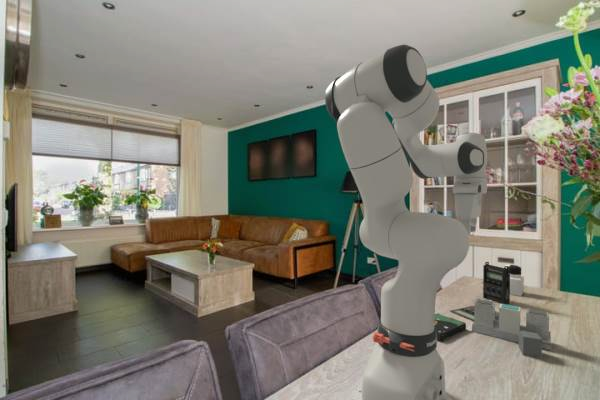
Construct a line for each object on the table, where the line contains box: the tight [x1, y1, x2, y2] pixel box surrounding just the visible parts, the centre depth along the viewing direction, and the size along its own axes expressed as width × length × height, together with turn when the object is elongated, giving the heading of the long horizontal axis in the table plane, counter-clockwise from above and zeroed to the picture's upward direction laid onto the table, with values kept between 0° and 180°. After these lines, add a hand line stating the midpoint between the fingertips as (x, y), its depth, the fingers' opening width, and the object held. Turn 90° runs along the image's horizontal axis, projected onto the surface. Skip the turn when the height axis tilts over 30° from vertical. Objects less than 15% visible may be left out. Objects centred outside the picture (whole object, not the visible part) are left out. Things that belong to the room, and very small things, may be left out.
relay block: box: [518, 331, 543, 359], centre depth 81 cm, size 4×4×5 cm
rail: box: [471, 298, 552, 351], centre depth 90 cm, size 6×19×9 cm, turn 51°
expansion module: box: [498, 303, 522, 335], centre depth 90 cm, size 4×5×7 cm
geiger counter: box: [482, 261, 511, 305], centre depth 121 cm, size 10×4×15 cm, turn 21°
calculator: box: [449, 305, 499, 323], centre depth 107 cm, size 12×1×15 cm
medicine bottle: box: [504, 264, 525, 297], centre depth 131 cm, size 7×7×12 cm
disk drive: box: [434, 313, 467, 343], centre depth 95 cm, size 10×3×15 cm
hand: (469, 233), depth 91 cm, fingers open, 8 cm apart
